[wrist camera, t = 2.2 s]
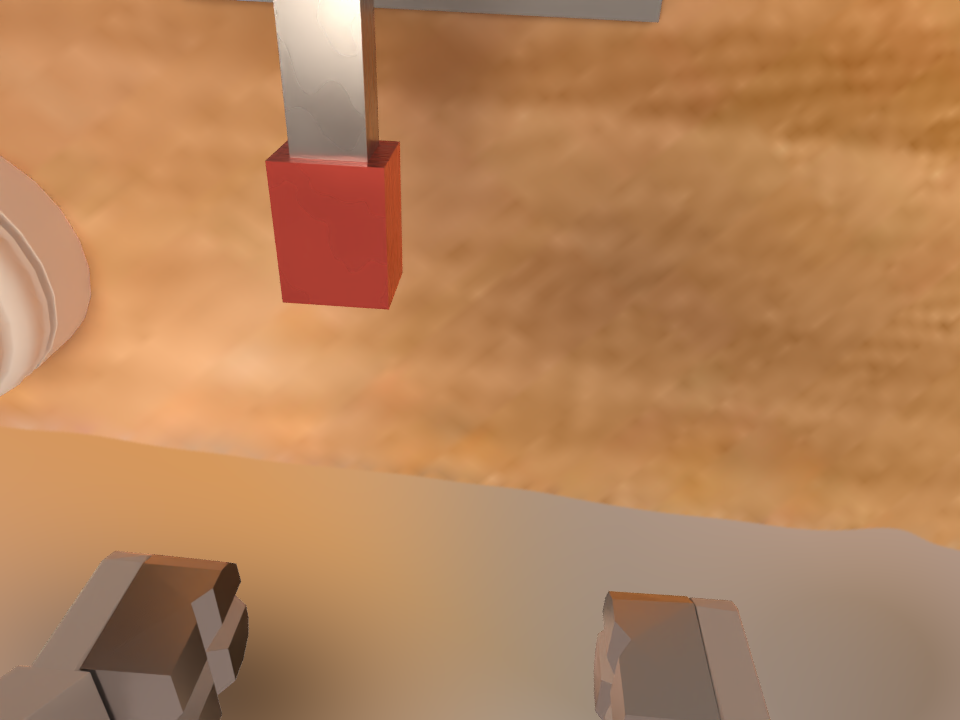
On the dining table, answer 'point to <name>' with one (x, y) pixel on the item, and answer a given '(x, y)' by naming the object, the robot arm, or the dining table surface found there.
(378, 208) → the lever
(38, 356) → the honey pot
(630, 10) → the valve
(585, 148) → the dining table surface
